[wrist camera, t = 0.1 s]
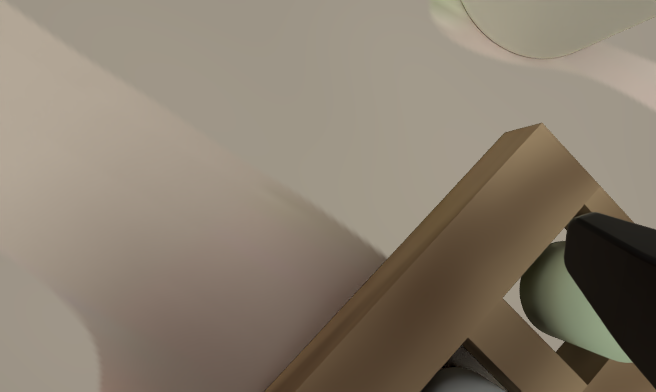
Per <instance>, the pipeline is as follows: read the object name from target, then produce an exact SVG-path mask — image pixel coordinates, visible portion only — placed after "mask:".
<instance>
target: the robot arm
mask: <svg viewBox="0 0 656 392" xmlns="http://www.w3.org/2000/svg"><path fill="white" fill-rule="evenodd" d="M564 264H565V267H566V269H567V271H568V273H569V274H570V276H571V277H572V279H573V280H574V282H575V283H576V285H577V286H578V288H579V289H580V290H581V292H582V293H583V295H584V296H585V298H586V299H587V301H588V302H589V303H590V305H591V306H592V308H593V309H594V311H595V312H596V314H597V315H598V317H599V318H600V319H601V321H602V322H603V324H604V325H605V327H606V328H607V330H608V331H609V333H610V334H611V335H612V337H613V338H614V339H615V341H616V342H617V343H618V345H619V346H620V348H621V349H622V350H623V351H624V352H625V354H626V355H627V356H628V357H629V359H630V360H631V361H632V362H633V363H634V365H635V366H636V367H637V368H638V369H639V371H640V372H641V373H642V374H643V375H644V376H645V378H646V379H647V380H648V381H649V382H650V383H651V385H652V386H653V387H654V388H655V389H656V230H655V229H652V228H648V227H645V226H642V225H638V224H635V223H632V222H628V221H625V220H622V219H618V218H615V217H611V216H608V215H605V214H601V213H598V212H590V213H587V214H584V215H581V216H577V217H574V218H573V219H571V220H570V222H569V223H568V227H567V234H566V242H565V250H564Z"/></svg>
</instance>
